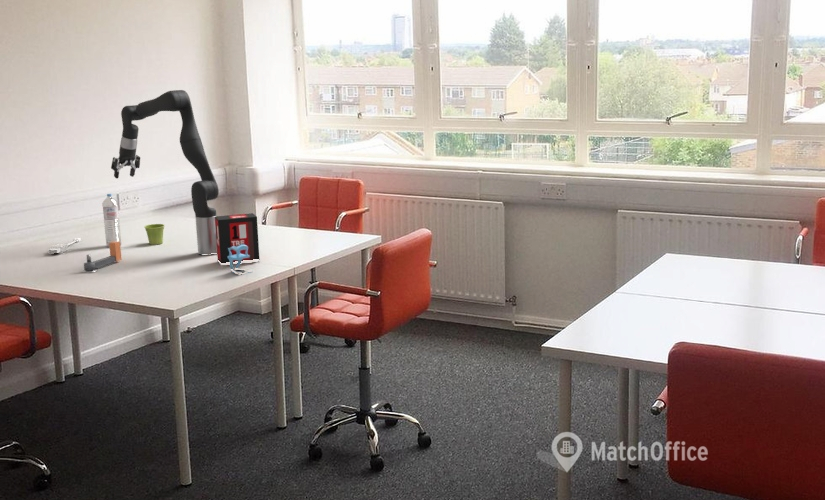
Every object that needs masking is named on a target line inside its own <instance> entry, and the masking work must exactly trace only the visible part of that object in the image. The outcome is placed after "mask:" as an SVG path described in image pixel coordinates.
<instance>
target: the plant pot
mask: <svg viewBox="0 0 825 500" xmlns="http://www.w3.org/2000/svg"><path fill="white" fill-rule="evenodd" d="M165 226H166V225H165V224H163V223H162V224H161V223H153V224H152V223H151V224H148V225H145V226H143V228H144V229H145V231H146V234H147V235H146V236H147V239H148V244H149V245H151V246H154V245H155V246H156V245H161V244H163V242H164V241H163V240H164V239H163V238H164V229H165Z"/></svg>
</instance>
